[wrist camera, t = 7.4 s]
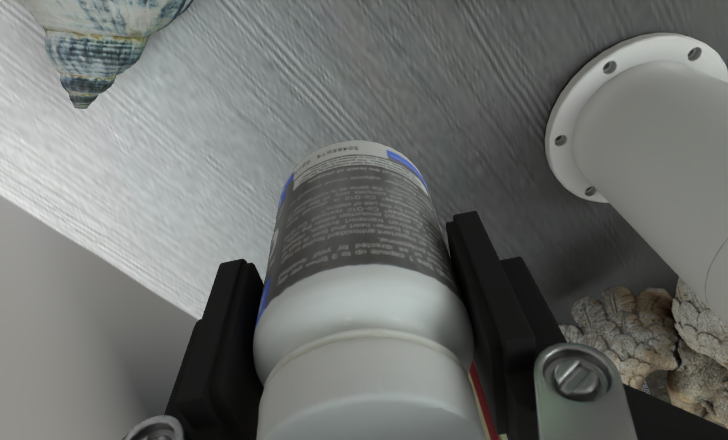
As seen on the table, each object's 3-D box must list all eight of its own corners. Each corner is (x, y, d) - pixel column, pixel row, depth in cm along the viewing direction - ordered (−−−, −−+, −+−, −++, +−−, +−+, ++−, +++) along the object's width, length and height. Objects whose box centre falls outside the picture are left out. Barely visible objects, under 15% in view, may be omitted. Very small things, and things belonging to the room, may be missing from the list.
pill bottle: (253, 169, 14) (167, 432, 7) (401, 112, 13) (473, 343, 6) (318, 279, 16) (304, 552, 9) (445, 237, 16) (532, 500, 9)
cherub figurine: (698, 523, 39) (554, 505, 31) (625, 325, 50) (506, 278, 43) (1006, 499, 27) (892, 461, 19) (820, 247, 38) (702, 162, 31)
